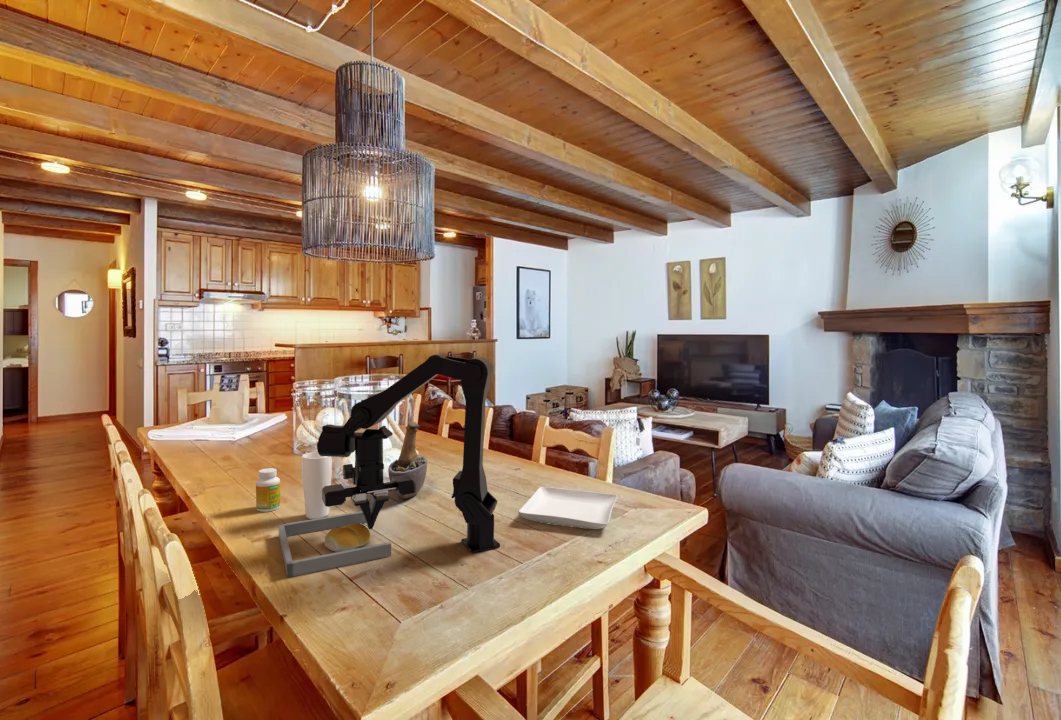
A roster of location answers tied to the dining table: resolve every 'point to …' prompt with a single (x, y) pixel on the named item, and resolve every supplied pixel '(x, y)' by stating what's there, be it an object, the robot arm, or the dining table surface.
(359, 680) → the dining table surface
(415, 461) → the mortar and pestle
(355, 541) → the bread roll
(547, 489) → the salad plate
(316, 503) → the drinking glass
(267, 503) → the supplement bottle
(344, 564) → the gray three-sided bracket
